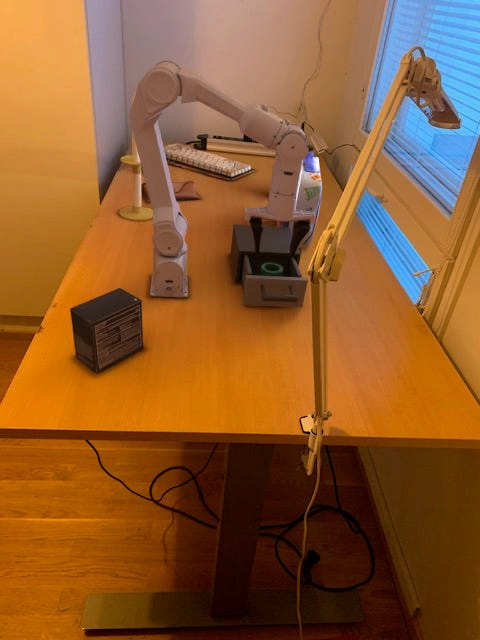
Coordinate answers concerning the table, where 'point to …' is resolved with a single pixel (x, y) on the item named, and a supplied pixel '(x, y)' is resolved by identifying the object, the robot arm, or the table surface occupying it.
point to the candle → (135, 186)
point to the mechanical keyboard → (205, 162)
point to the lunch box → (308, 195)
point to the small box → (107, 329)
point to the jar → (271, 270)
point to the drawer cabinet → (270, 244)
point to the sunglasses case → (176, 191)
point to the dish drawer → (272, 282)
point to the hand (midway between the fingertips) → (274, 252)
